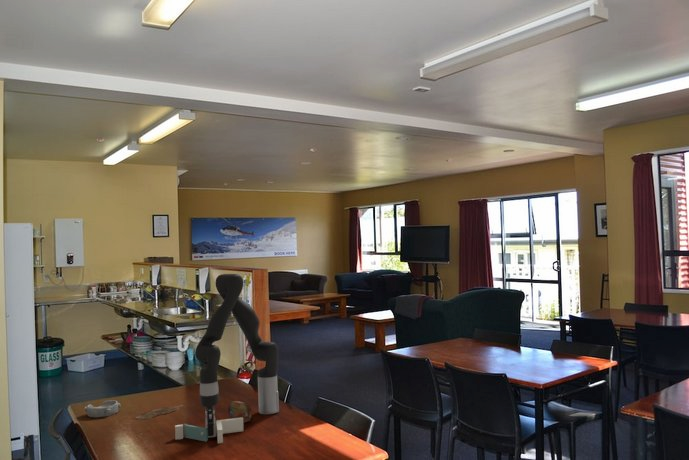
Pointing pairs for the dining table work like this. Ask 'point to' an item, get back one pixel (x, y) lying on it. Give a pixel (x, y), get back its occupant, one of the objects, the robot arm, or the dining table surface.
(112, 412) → the dish
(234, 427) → the grey angled piece
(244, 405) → the tin
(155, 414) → the wooden fragment
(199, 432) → the teal long flat block
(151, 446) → the dining table surface
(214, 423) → the block
